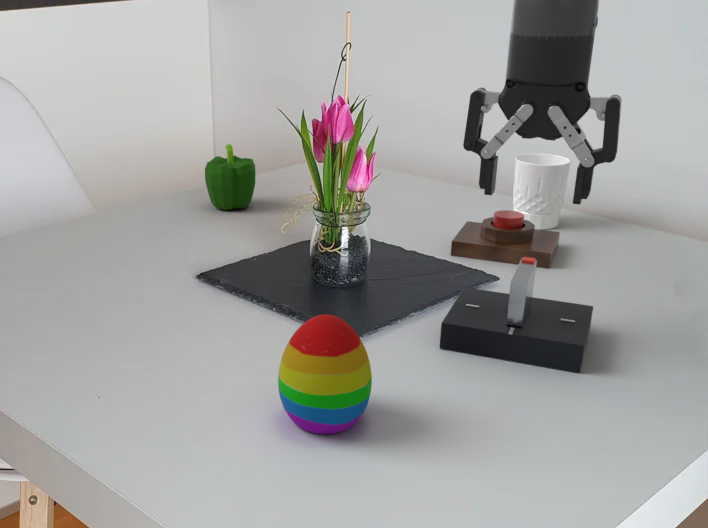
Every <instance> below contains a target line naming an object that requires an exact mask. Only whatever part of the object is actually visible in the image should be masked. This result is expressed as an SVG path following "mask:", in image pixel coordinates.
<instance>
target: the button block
mask: <svg viewBox="0 0 708 528" xmlns="http://www.w3.org/2000/svg"><path fill="white" fill-rule="evenodd" d="M493 218H494V216H492V217H488V218H484V219H483V220H482V222H477V221H469V220H467V221H466V222H465V223H464V225H463V226H462V227H461V228H460V229H459V230H458V232H457V234H456V235H455V236H454V238H453V239H452V240H451V245H450V256H451V257H457V258H465V259H472V260H480V261H487V262H493V263H494V262H496V263H502V264H503V263H504V264H509V265H510V264H511V265H516V266H518V265H519V263H520V261H521V259H522V258H523V257H529V258H535V260H537V263H536V268H541V269H548V270H549V269H550V267H551V265H552V263H553V261H554V257H555V255H556V253H557V251H558V248H559V242H560V235H561V232H560V231H554V230H548V229H545V230H538V229H534V228H535V225H534V224H533V223H531V222H530V221H527V220H524V222H523V228H520V229H505V228H499V227H496V226H493Z"/></svg>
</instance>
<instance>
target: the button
mask: <svg viewBox="0 0 708 528" xmlns="http://www.w3.org/2000/svg"><path fill="white" fill-rule="evenodd" d="M493 217H494V218H493V226H496V227H499V228H505V229H520V228H523V222H524V214H522V213H520V212H516V211H513V210H508V209H507V210H506V209H505V210H502V209H501V210H497V211H494V213H493Z"/></svg>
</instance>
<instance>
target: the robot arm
mask: <svg viewBox="0 0 708 528" xmlns="http://www.w3.org/2000/svg"><path fill="white" fill-rule="evenodd" d="M599 5H600V0H513V5H512V10H511V11H512V12H511V23H510V30H509V31H510V32H509V42H508V51H507V62H506V71H505V82H504V87H503V88H502V90H501V91H500V92H499V91H491V90H487V89H486V88H485V87H478V88H477V89H476V90H474V91H472V92H471V93H470V96H469V101H468V102H469V103H468V108H467V109H468V110H467V117H466V125H465V130H464V137H463V144H462V145H463V149H464V150H465V151H467V152H472V153H474V154H477V155H478V156H479V158H480V166H479V175H478V176H479V179H478V186H479V189H480V190H484V192H483V193H484V194H483V195H484V196H493V194H494V193H495V190H496V184H497V183H496V182H497V172H498V163H499V162H498V161H499V155H497V153H498V151H499V150H500V149H501V148H502V146H503V145H504V144H505V143H507V141H508V140H509V139H510V138H511V137H512V136H513V135H514V134H515V133H516V135H518V136H519V137H521V139H527V140H529V139H530V140H531V139H537V138H540V139H542V140H546V141H556V140H559V139H561V138H562V139H564V141H565V143H566V144H567V146H568V147H569V149H570V150H572V152H573V154H574V155H575V156H576V158H577V160H578V161H579V163H578V166H577V168H576V176H575V183H574V191H573V197H572V205H578V206H579V205H581V204H582V201H583V200H587V199H589V196H590V194H591V190H592V183H593V178H594V177H593V176H594V170H595V167H596V166H598V165H600V164H605V163H609V164H610V163H612V162H614V161H615V160H616V158H617V155H618V145H619V137H620V136H619V135H620V124H621V123H620V122H621V110H622V101H623V100H622V97H621V96H620V95H619V94H612V95H610V96H591V95H590V91H589V80H590V72H591V65H592V59H593V50H594V44H595V35H596V29H597V28H598V24H599V17H598V13H599ZM496 104H497V105H498V106H499V108H500V110H501V112H502V113H503V115H504V116H505V118H506V120H507V121H506V123H505V124H503V126H502V127H501V128H500V129H499V130H498V131H497V132H496V134H494V136H492V138H491V139H490V140H489V141H487V140H485V139H483V138H482V132H483V125H484V117H485V114H488V113H489V112H490V111H491V110H492V109H493V106H494V105H496ZM590 109H591V110H593V111H595V113H596V114H595V115H596V118H597V120H599V121H601V122H604V123H603V124H604V125H603V137H602V147H600V148H595V149H594V148H593V147H592V144H591V143H590V142H589V140H588V138H587V136H586V133H585V132H584V130H583V129H582V127H581V126H580V124H579V121H580V120H581V119H582V118H583V117H584V116H585V115H586V114H587V113H588V111H589V110H590Z"/></svg>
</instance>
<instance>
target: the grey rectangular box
mask: <svg viewBox="0 0 708 528" xmlns="http://www.w3.org/2000/svg"><path fill="white" fill-rule="evenodd" d="M536 263H537V260H535V258H529V257H523V258H522V259H521V261H520V263H519V265H517V267H516V269H515V271H514V274H513V275H512V277H511V279H510V286H509V294H510V295H509V304H508V312H507V321H506V324H507V325H513V326H519V327H522V325H523V323H524V320H525V318H526V315H527V313H528V310H529V308H530V305H531V303H532V297H533V295H534V286H535V277H536V270H537V267H536Z"/></svg>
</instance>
